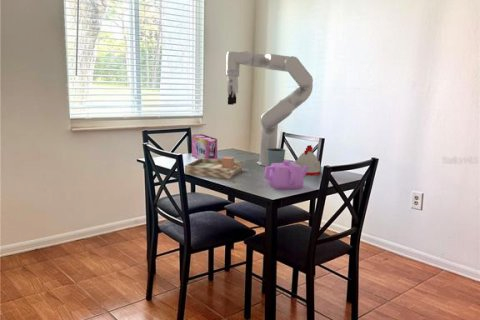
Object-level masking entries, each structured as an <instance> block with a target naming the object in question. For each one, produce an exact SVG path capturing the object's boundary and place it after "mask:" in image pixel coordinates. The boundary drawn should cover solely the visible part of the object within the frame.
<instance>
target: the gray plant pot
mask: <svg viewBox="0 0 480 320" xmlns="http://www.w3.org/2000/svg"><path fill="white" fill-rule="evenodd" d="M285 155H286V149H285V148H280V147H279V148H278V147H276V148H269V149H267V166H271V164H272V163H284V162H283V161H284V160H285Z"/></svg>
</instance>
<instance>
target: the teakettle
mask: <svg viewBox="0 0 480 320" xmlns="http://www.w3.org/2000/svg"><path fill="white" fill-rule="evenodd" d="M283 162H284V163H272V164H271V166H264V174H263V178H264V179H265V180H267V181H268V185H269V186H271V188H273V189H275V190H279V191H280V190H283V191H284V190H285V191H287V190H301V189H302V188H303V186H304V178H305V176H306V175H305V174H306V172H307V171H308V169H309V167H307V166H305V167H304V168H303V169H302V167H301V166H300V165H298V164H295V162H291V161H290V160H288V159H287V160H285V159H284V161H283Z"/></svg>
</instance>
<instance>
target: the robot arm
mask: <svg viewBox="0 0 480 320" xmlns="http://www.w3.org/2000/svg"><path fill="white" fill-rule="evenodd" d="M240 65H243V66H246V67H247V66H248V67H256V68H261V69H266V70H272V71H278V72H279V71H280V72H287V73H288V74H289V76H290V77H291V78H292V79H293V80H294V81H295V83H296V84H297V87H296V88H295V90H293V91H292V92H291V93H290V94H288V95H287V96H286V97H284V98H283V99H281V100H278V102H277V103H275V104H274V105H273V106H271V107H270V108H268V110H265V111H264V112H263V113H262V115H261V116H260V120H259V121H260V124H261V125H260V127H261V128H260V143H259V146H260V147H259V160H258V161H256V165H258V166H263V167H265V166H267V149H269V148H278V147H277V143H278V127H279V124H280V123H281V122H282V121H284V120H285V119H287V118H288V117H290V115H291V114H292V113H293V112H294V110H296V109H298V107H300V106H301V105H303V103H305V102H306V101H307V100H308V99H309V97H310V96H311V94H312V92H313V85H314V84H313V82H314V78H313V76H312V75H311V73H310V72H309V71H308V70H307V68H306V67H305V66H304V65H303V64H302V61H300V59H299V58H298V57H297V56H294V55H292V56H289V55H280V54H276V53H275V54H274V53H269V54H262V53H261V54H260V53H254V52H249V51H248V50H247V51H227V53H226V73H225V76H226V77H227V94H228V95H227V105H229V106H230V105H231V106H232V105H236V104H237V95H238V93H239V77H240V70H241V69H240V67H241V66H240Z"/></svg>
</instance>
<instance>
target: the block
mask: <svg viewBox="0 0 480 320" xmlns="http://www.w3.org/2000/svg"><path fill="white" fill-rule="evenodd" d="M221 160H222V167H223V168H232V167H234V161H235V157H234V156H223V157H222V158H221Z"/></svg>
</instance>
